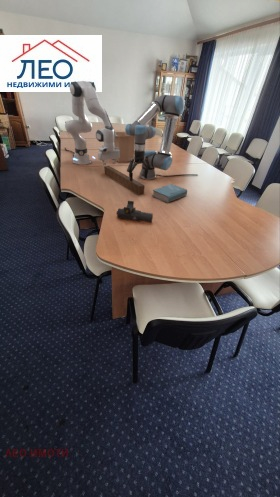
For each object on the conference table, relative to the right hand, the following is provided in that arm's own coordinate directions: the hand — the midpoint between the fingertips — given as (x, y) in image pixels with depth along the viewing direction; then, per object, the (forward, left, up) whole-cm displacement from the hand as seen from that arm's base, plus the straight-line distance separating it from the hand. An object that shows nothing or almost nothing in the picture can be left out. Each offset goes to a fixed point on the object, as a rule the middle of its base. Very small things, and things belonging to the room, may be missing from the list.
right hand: (138, 179), depth 169 cm
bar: (+11, -19, -10) cm, 24 cm away
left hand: (+23, -38, -1) cm, 45 cm away
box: (+9, -97, -10) cm, 98 cm away
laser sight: (+6, +45, -10) cm, 46 cm away
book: (-25, +7, -10) cm, 27 cm away
